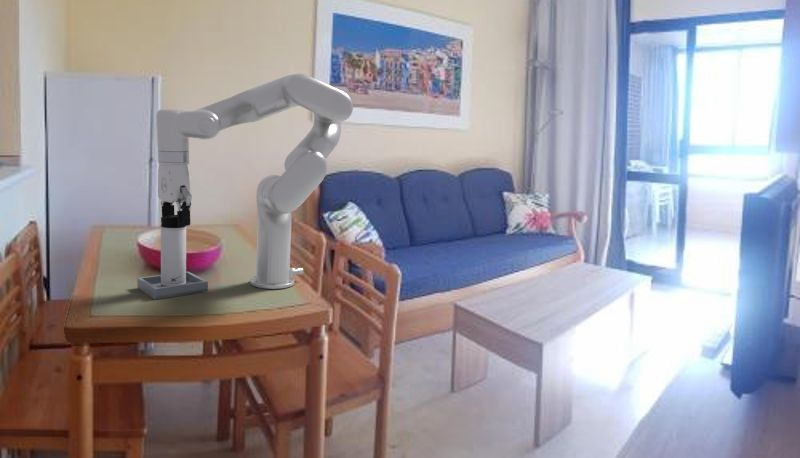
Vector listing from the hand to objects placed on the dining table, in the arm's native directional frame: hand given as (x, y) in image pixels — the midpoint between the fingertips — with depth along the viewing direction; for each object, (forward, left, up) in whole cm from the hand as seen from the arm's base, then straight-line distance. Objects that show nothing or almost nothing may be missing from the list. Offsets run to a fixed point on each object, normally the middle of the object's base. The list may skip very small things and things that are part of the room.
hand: (176, 222), depth 149 cm
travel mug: (+1, 0, -18) cm, 18 cm away
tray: (+1, 0, -18) cm, 18 cm away
